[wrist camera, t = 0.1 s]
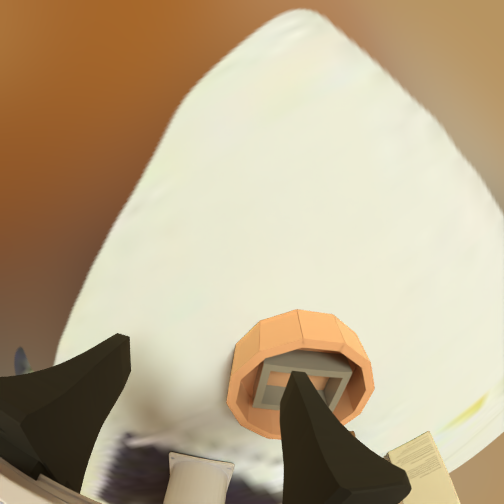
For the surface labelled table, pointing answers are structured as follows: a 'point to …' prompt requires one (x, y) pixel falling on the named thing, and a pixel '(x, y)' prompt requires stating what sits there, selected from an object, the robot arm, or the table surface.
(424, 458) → the skincare box
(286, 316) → the faceted orange bowl
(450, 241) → the table surface
